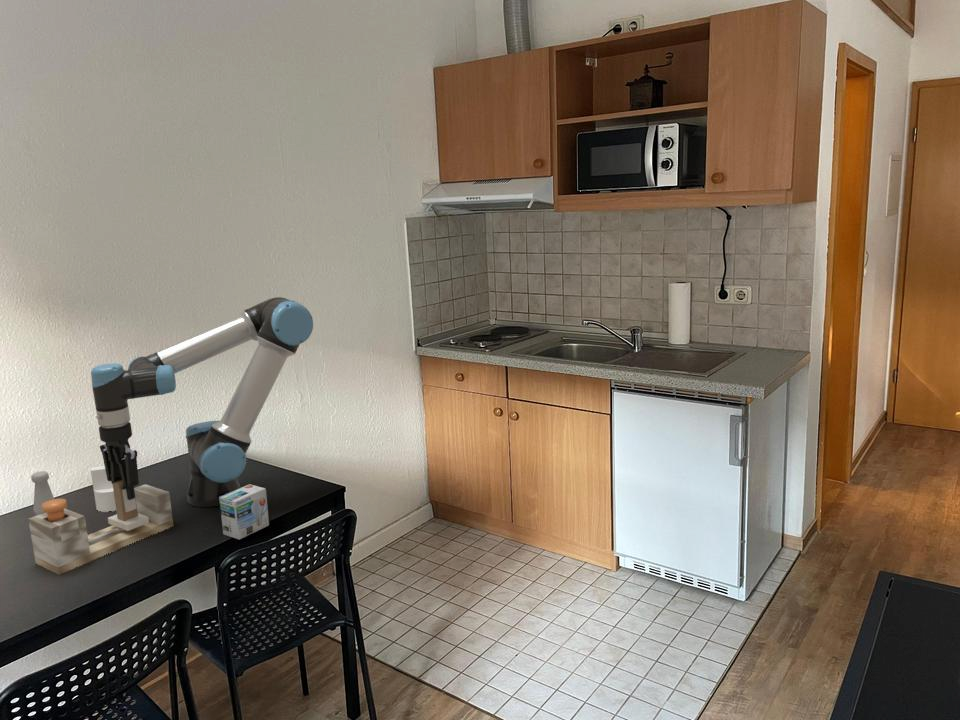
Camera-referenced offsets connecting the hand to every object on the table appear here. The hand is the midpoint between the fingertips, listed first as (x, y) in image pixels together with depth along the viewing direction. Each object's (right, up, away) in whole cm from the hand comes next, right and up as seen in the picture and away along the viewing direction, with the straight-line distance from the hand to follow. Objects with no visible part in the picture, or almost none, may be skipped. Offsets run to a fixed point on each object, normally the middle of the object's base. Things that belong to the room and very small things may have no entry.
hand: (126, 508), depth 200 cm
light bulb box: (+31, -6, +3) cm, 32 cm away
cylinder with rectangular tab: (-14, -4, +21) cm, 26 cm away
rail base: (-4, -9, -4) cm, 10 cm away
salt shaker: (-30, -5, +16) cm, 35 cm away
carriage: (0, -4, +1) cm, 4 cm away
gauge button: (-10, -1, -15) cm, 18 cm away
